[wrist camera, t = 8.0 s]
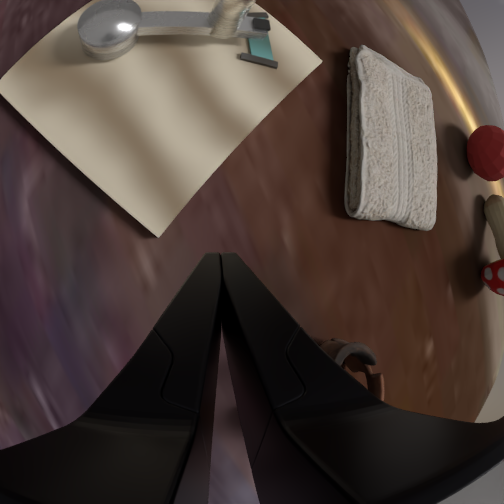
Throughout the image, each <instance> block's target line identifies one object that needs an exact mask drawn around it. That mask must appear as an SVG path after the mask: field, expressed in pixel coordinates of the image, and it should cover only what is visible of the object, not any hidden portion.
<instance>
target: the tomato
mask: <svg viewBox="0 0 504 504" xmlns="http://www.w3.org/2000/svg"><path fill="white" fill-rule="evenodd" d="M467 159H468V162H469V164H470V166H471V168H472V169H473V171H474V173H476V174H477V175H478V176H480V177H481V178H483V179H485V180H487V181H497V180H499V179H501V178H503V177H504V131H503V130H502V129H501V128H499V127H496V126H490V125H485V126H480V127H479V128H477V129H476V130H475V131H474V132H473V133H472V134H471V135H470V137H469V140H468V142H467Z"/></svg>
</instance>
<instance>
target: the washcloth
mask: <svg viewBox="0 0 504 504" xmlns="http://www.w3.org/2000/svg"><path fill="white" fill-rule="evenodd" d="M349 59H350V60H349V62H348V67H349V68H350V70H348V72H349V75H348V76H347V162H346V178H345V196H344V199H345V201H344V202H345V209H346V212H347V213H348V215H349V216H350V217H355V218H357V219H366V220H367V219H368V220H387V221H391V222H396V223H397V224H398V225H401V226H404V227H408V228H412V229H419V230H425V231H428V230H430V229H432V228H433V226H434V224H435V220H436V205H437V193H436V192H437V190H436V187H437V155H436V147H437V145H436V135H435V128H434V115H433V113H434V112H433V101H432V99H431V98H432V94H431V91H430V89H429V87H428V86H426V85H425V84H424V82H423V81H422V79H421V78H419V77H414V76H413V75H411V74H409V73H407V72H406V71H404V70H403V69H402V68H400V67H399V66H397V65H396V64H394V63H392V62H391V61H389V60H388V59H387V58H385V57H384V56H382V55H380V54H378V53H376V52H375V51H373V50H371V49H369V48H367V47H366V46H365V45H361V46H360V48H359V49H358V48H355V47H353V48H351V49H350V57H349ZM351 83H352V84H351Z"/></svg>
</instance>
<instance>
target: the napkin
mask: <svg viewBox="0 0 504 504" xmlns="http://www.w3.org/2000/svg"><path fill="white" fill-rule="evenodd" d="M99 1H101V0H92V1H91V2H89V3H88V4H86V5H85V6H84V7H82V8H81V9H79V10H78V11H76V12H75V13H74V14H72V15H71V16H70V17H68V18H67V19H66V20H64V21H63V22H62V23H61V24H59V25H58V26H57V27H56V28H54V29H53V30H52V31H51V32H50V33H48V34H47V35H46V36H45V37H44V38H42V39H41V40H40V41H39V42H38V43H37V44H36V45H35V46H33V47H32V48H31V49H30V50H29V51H28V52H27V53H26V54H25V55H24V56H23V57H22V58H21V59H20V60H19V61H18V62H17V63H16V64H15V65H14V66H13V67H12V68H11V69H10V70H9V71H8V72H7V73H6V74H5V75H4V76H3V77H2V78H1V80H0V94H1V95H2V96H3V97H4V98H5V99H6V100H7V101H8V102H9V103H10V104H11V105H12V106H13V107H14V108H15V109H16V110H17V111H18V112H19V113H20V114H21V115H22V116H23V117H24V118H25V119H26V120H27V121H28V122H29V123H30V124H31V125H32V126H33V127H34V128H35V129H36V130H37V131H38V132H39V133H41V134H42V135H43V136H44V137H45V138H46V139H47V140H48V141H49V142H50V143H51V144H52V145H53V146H54V147H55V148H56V149H57V150H58V151H60V152H61V153H62V154H63V155H64V156H65V157H66V158H67V159H68V160H69V161H70V162H71V163H73V164H74V165H75V166H76V167H77V168H78V169H79V170H80V171H81V172H82V173H84V174H85V175H86V176H87V177H88V178H89V179H90V180H91V181H92V182H94V183H95V184H96V185H97V186H98V187H99V188H100V189H101V190H103V191H104V192H105V193H106V194H107V195H108V196H109V197H111V198H112V199H113V200H114V201H115V202H116V203H117V204H119V205H120V206H121V207H122V208H123V209H124V210H126V211H127V212H128V213H129V214H130V215H131V216H133V217H134V218H135V219H136V220H137V221H139V222H140V223H141V224H142V225H143V226H144V227H146V228H147V229H148V230H149V231H150V232H152V233H153V234H154V235H155V236H156V237H158V238H159V237H160V236H161V234H162V233H163V232H164V231H165V229H166V228H167V227H168V226H169V224H170V223H171V222H172V221H173V219H174V218H175V217H176V216H177V215H178V213H179V212H180V211H181V210H182V208H183V207H184V206H185V205H186V204H187V202H188V201H189V200H190V199H191V198H192V197H193V195H194V194H195V193H196V192H197V191H198V190H199V188H200V187H201V186H202V185H203V184H204V183H205V181H206V180H207V179H208V178H209V177H210V176H211V175H212V173H213V172H214V171H215V170H216V169H217V168H218V167H219V166H220V165H221V163H222V162H223V161H224V160H225V159H226V158H227V157H228V156H229V155H230V153H231V152H232V151H233V150H234V149H235V148H236V147H237V146H238V145H239V144H240V143H241V142H242V141H243V139H244V138H245V137H246V136H247V135H248V134H249V133H250V132H251V131H252V130H253V129H254V128H255V127H256V126H257V125H258V124H259V123H260V122H261V121H262V120H263V119H264V118H265V117H266V116H267V115H268V114H269V113H270V111H271V110H272V109H273V108H274V107H275V106H276V105H277V104H278V103H279V102H281V101H282V100H283V99H284V98H285V97H286V96H287V95H288V94H289V93H290V92H291V91H292V90H293V89H294V88H295V87H296V86H297V85H298V84H299V83H300V82H301V81H302V80H303V79H304V78H305V77H306V76H308V75H309V74H310V73H311V72H312V71H313V70H314V69H315V68H316V67H317V66H318V65H319V64H321V63H322V62H323V61H322V60H321V59H320V58H319V57H318V56H317V55H315V54H314V53H313V52H312V51H311V50H310V49H309V48H308V47H307V46H306V45H305V44H304V43H303V42H302V41H300V40H299V39H298V38H297V37H296V36H295V35H294V34H293V33H291V32H290V31H289V30H288V29H287V28H286V27H284V26H283V25H282V24H281V23H280V22H278V21H277V20H276V19H275V18H273V17H272V16H271V15H270V14H268V13H267V12H266V11H265V10H263V9H262V8H261V7H259V6H258V5H257V4H255V3H254V5H253V6H252V8H251V9H250V11H249V12H248V14H247V15H246V16H248V17H255V18H262V19H267V20H269V21H270V27H271V30H270V31H267V32H268V34H267V36H266V37H265V38H264V39H263V41H262V40H254V39H246V38H236V37H230V38H227V39H220V38H216V37H213V36H210V35H142V36H139V40H138V42H137V43H136V45H135V46H134V47H133V48H132V49H131V50H130V51H129V52H127V53H126V54H124V55H122V56H120V57H118V58H115V59H111V60H96V59H92V58H90V57H88V56H87V55H86V54H85V53H84V52H83V50H82V47H81V42H80V38H79V33H78V28H77V24H78V20H79V18H80V16H81V15H82V13H83V12H84V11H85V10H86V9H87V8H88V7H90V6H91V5H93V4H94V3H96V2H99ZM133 1H134V2H136V3H137V4H138V5H139V6H140V8H141V12H151V11H190V12H209V13H210V11H211V8H212V6H213V4H214V2H215V0H133Z"/></svg>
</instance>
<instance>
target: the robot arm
mask: <svg viewBox="0 0 504 504" xmlns="http://www.w3.org/2000/svg"><path fill="white" fill-rule="evenodd" d="M221 322H222V332H223V339H224V344H225V349H226V354H227V360H228V365H229V370H230V375H231V380H232V385H233V390H234V394H235V399H236V404H237V409H238V413H239V418H240V423H241V427H242V432H243V436H244V440H245V445H246V449H247V453H248V458H249V462H250V466H251V469H252V475H253V479H254V483H255V487H256V491H257V494H258V498H259V502H260V504H504V416H503V417H502V418H500V419H499V420H496V421H493V422H488V423H471V422H464V421H458V420H452V419H446V418H440V417H435V416H430V415H425V414H420V413H415V412H410V411H406V410H402V409H398V408H395V407H393V406H391V405H389V404H387V403H385V402H383V401H382V400H380V399H379V398H378V397H376V396H375V395H374V394H372V393H371V392H370V391H369V390H368V389H367V388H365V387H364V386H363V385H362V384H361V383H360V382H358V381H357V380H356V379H355V378H354V377H353V376H351V375H350V374H349V373H348V372H347V371H346V370H344V369H343V368H342V367H341V366H340V365H339V364H338V363H336V362H335V361H334V360H333V359H332V358H331V357H330V356H329V355H328V354H327V353H326V352H325V351H323V350H322V349H321V347H320V346H319V345H318V344H317V343H316V342H315V341H314V340H313V339H312V338H311V337H310V336H309V335H308V334H307V333H306V331H305V330H304V329H303V328H302V327H300V325H299V324H298V323H297V322H296V320H295V319H294V318H293V317H292V316H291V315H290V314H289V313H288V311H287V310H286V309H285V308H284V307H283V306H282V305H281V304H280V302H279V301H278V300H277V299H276V298H275V297H274V296H273V294H272V293H271V292H270V291H269V290H268V289H267V288H266V287H265V285H264V284H263V283H262V282H261V281H260V280H259V279H258V277H257V276H256V275H255V274H254V273H253V272H252V271H251V270H250V268H249V267H248V266H247V265H246V264H245V263H244V262H243V260H242V259H241V258H240V257H239V256H238V255H237V254H236V253H234V252H230V253H221V255H220V253H205V254H204V255H203V257H202V258H201V260H200V261H199V262H198V264H197V265H196V267H195V268H194V269H193V271H192V272H191V274H190V275H189V276H188V278H187V279H186V281H185V282H184V284H183V285H182V286H181V288H180V289H179V291H178V292H177V294H176V295H175V297H174V298H173V299H172V301H171V302H170V304H169V305H168V307H167V308H166V310H165V311H164V313H163V314H162V315H161V317H160V318H159V320H158V321H157V323H156V324H155V326H154V327H153V330H151V331H150V333H149V334H148V336H147V337H146V339H145V340H144V342H143V343H142V345H141V346H140V347H139V349H138V350H137V352H136V353H135V354H134V356H133V357H132V358H131V359H130V361H129V362H128V363H127V364H126V365H125V367H124V368H123V369H122V370H121V371H120V373H119V374H118V375H117V376H116V377H115V378H114V380H113V381H112V382H111V383H110V384H109V385H108V386H107V388H106V389H105V390H104V391H103V392H102V393H101V395H100V396H99V397H98V398H97V399H96V400H95V402H94V403H93V404H92V405H91V406H90V407H89V408H88V410H87V411H86V412H85V413H83V414H82V415H81V416H80V417H79V418H77V419H76V420H75V421H73V422H72V423H70V424H68V425H66V426H64V427H61V428H59V429H56V430H54V431H51V432H49V433H46V434H44V435H41V436H38V437H36V438H33V439H31V440H28V441H25V442H22V443H20V444H17V445H14V446H11V447H8V448H5V449H2V450H0V504H208V496H209V479H210V464H211V449H212V436H213V422H214V410H215V397H216V385H217V374H218V363H219V352H220V341H221Z"/></svg>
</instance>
